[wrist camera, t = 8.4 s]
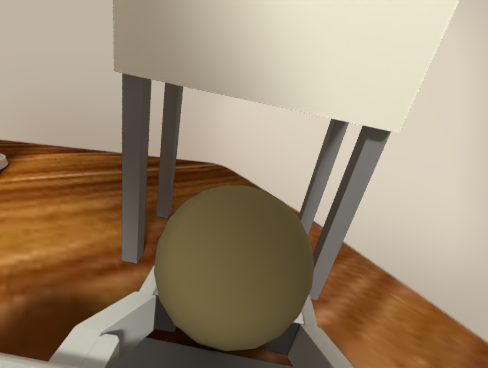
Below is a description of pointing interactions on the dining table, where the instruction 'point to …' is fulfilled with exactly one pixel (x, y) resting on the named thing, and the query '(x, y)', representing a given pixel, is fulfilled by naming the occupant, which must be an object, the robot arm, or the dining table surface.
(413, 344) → the dining table surface
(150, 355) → the mat
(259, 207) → the olive pear shape
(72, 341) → the robot arm
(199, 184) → the dining table surface
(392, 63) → the cabinet
